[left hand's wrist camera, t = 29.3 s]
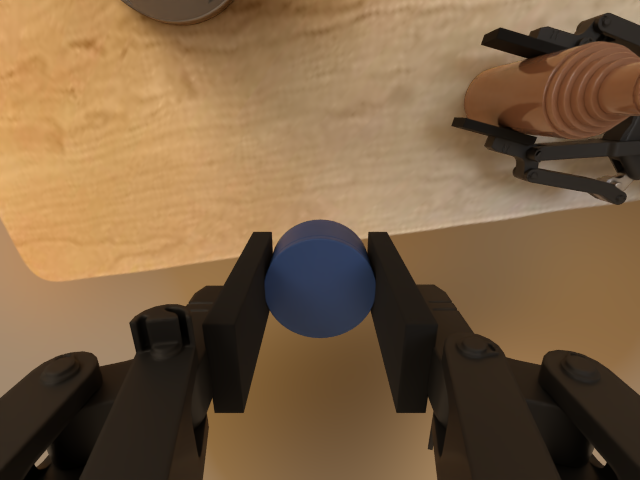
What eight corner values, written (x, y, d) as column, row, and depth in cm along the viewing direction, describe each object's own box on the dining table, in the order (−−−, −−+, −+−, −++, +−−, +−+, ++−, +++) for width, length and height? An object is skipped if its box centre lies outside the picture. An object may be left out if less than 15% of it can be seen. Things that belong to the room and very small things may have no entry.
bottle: (482, 57, 34) (664, -4, 16) (534, 80, 35) (764, 46, 17) (453, 117, 36) (586, 123, 18) (503, 138, 37) (679, 163, 19)
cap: (262, 294, 15) (253, 324, 13) (284, 207, 13) (278, 225, 11) (351, 315, 15) (356, 348, 13) (381, 233, 14) (392, 255, 12)
